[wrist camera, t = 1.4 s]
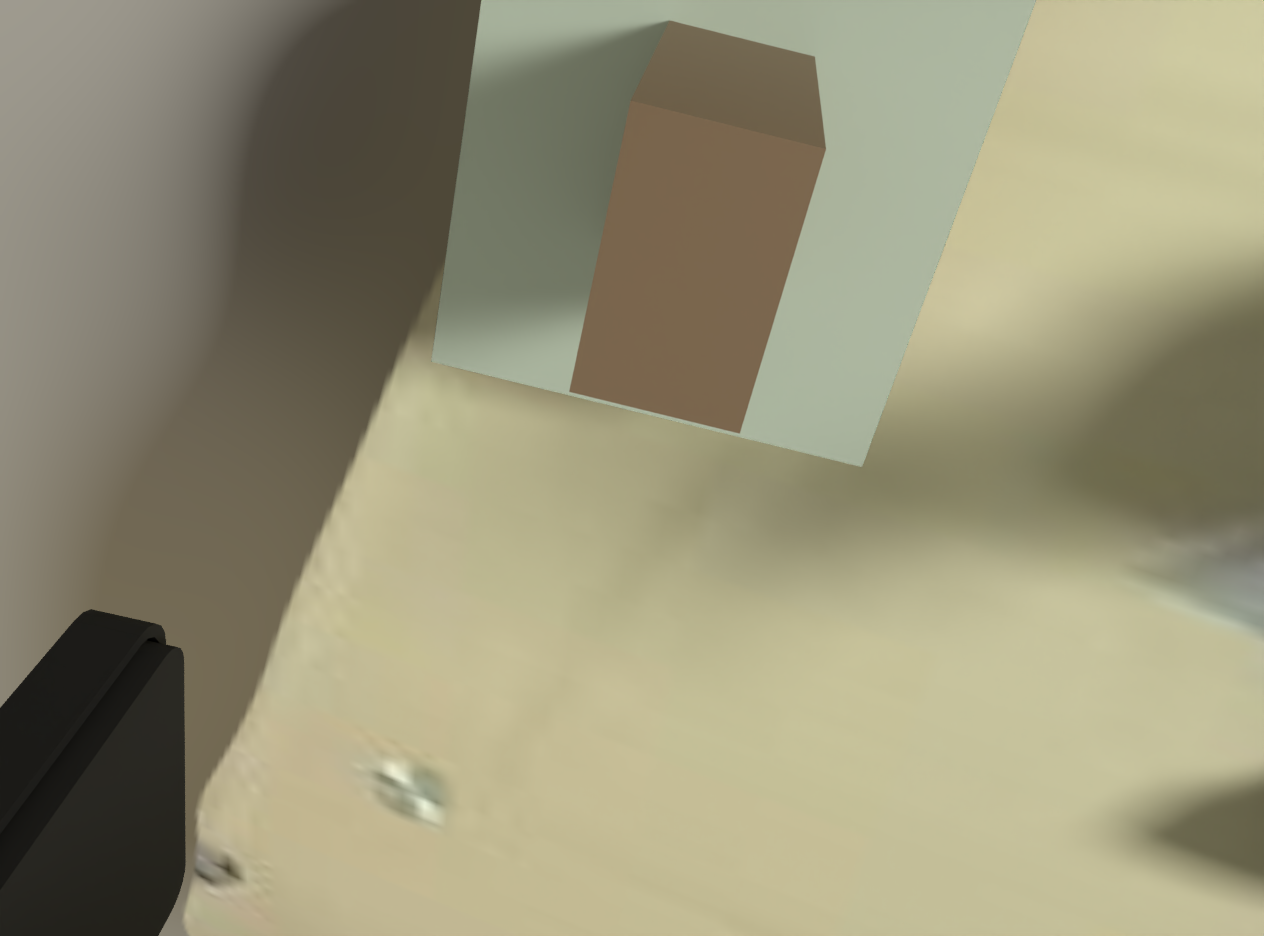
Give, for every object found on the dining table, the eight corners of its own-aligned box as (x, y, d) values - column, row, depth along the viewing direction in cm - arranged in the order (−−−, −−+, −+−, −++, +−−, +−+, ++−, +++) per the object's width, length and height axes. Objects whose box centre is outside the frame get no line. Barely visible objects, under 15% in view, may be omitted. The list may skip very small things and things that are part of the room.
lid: (523, -243, 22) (411, -256, 15) (1065, -106, 22) (1187, -61, 15) (439, 347, 28) (334, 519, 22) (860, 450, 29) (883, 652, 22)
